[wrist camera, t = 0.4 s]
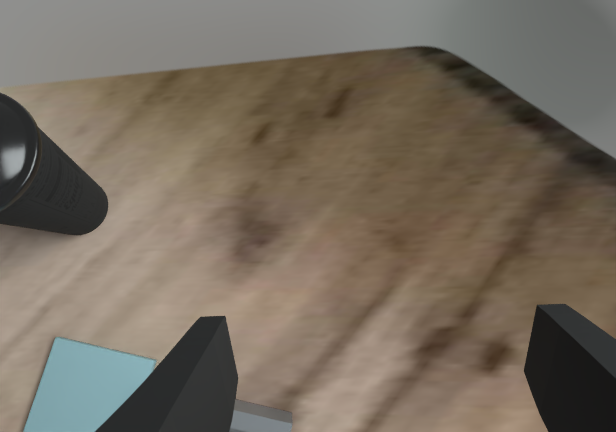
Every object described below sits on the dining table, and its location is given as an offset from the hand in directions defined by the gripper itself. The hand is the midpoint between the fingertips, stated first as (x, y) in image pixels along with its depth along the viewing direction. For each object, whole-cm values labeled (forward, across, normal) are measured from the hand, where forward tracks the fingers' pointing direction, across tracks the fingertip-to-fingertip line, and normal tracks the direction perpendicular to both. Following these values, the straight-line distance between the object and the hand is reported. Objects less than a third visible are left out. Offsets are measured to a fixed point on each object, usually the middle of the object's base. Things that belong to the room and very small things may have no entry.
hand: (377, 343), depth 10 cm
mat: (+14, +21, +21) cm, 33 cm away
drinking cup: (+25, +23, +7) cm, 35 cm away
